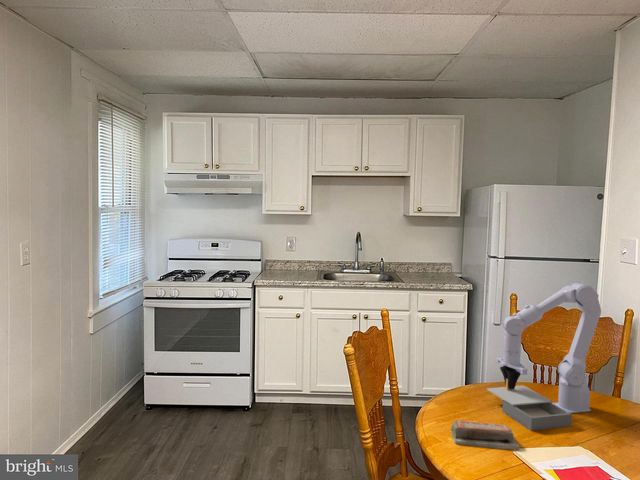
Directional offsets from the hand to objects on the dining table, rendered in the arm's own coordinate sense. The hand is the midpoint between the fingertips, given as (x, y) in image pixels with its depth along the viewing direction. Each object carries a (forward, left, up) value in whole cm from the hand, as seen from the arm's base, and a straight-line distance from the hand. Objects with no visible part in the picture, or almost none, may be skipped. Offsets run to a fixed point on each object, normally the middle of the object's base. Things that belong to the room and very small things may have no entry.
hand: (510, 387), depth 168 cm
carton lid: (0, +4, -1) cm, 5 cm away
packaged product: (+26, +23, -6) cm, 35 cm away
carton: (0, +13, -5) cm, 15 cm away
